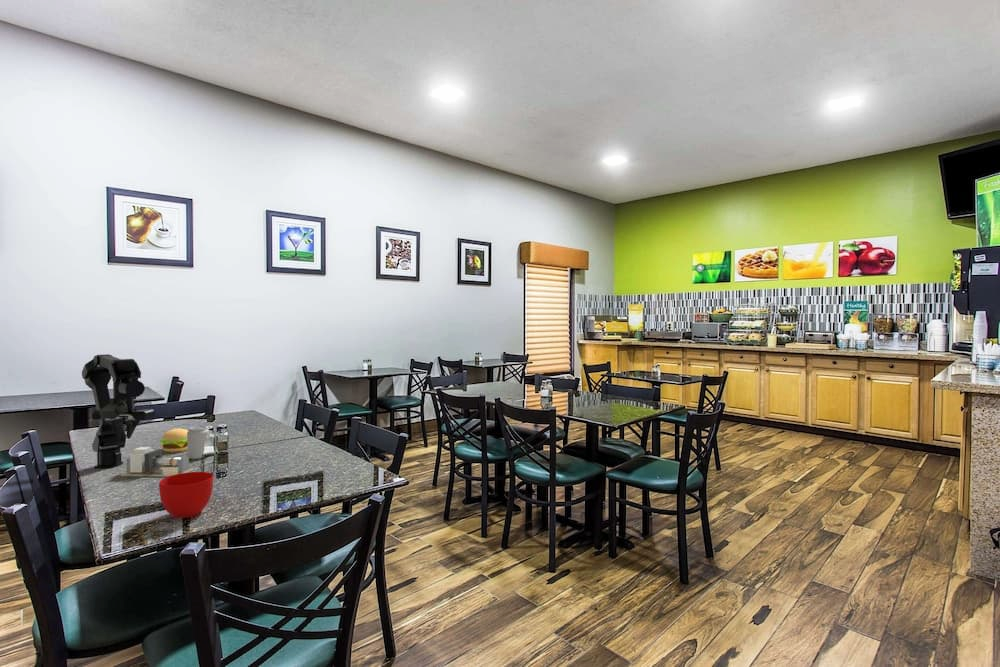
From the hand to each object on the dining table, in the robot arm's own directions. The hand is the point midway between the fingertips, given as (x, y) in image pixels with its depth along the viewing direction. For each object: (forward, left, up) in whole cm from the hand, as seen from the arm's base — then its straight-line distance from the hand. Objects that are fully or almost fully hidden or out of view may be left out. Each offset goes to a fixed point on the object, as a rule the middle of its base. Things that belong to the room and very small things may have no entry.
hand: (123, 438), depth 180 cm
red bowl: (+45, -36, -12) cm, 59 cm away
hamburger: (-2, +32, -12) cm, 34 cm away
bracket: (+6, 0, -11) cm, 13 cm away
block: (+10, 0, -11) cm, 15 cm away
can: (+14, +20, -12) cm, 28 cm away
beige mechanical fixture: (+12, 0, -12) cm, 17 cm away
